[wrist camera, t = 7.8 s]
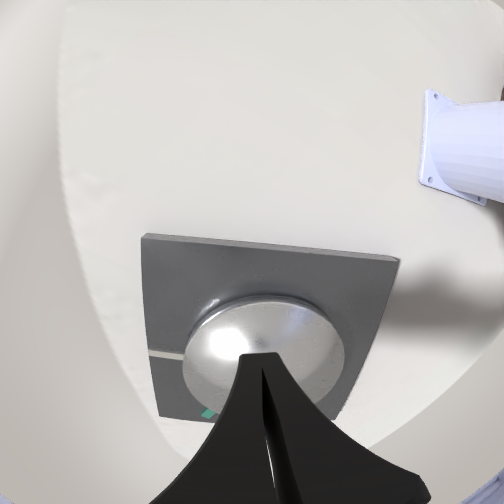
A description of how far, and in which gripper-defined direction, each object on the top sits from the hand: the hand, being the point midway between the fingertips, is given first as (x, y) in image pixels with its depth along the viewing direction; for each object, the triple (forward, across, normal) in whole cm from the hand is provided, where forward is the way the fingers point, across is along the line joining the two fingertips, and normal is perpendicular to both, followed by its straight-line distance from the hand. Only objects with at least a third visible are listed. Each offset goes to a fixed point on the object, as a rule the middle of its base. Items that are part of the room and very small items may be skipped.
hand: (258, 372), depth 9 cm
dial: (+9, -1, +7) cm, 11 cm away
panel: (+10, -1, +7) cm, 12 cm away
